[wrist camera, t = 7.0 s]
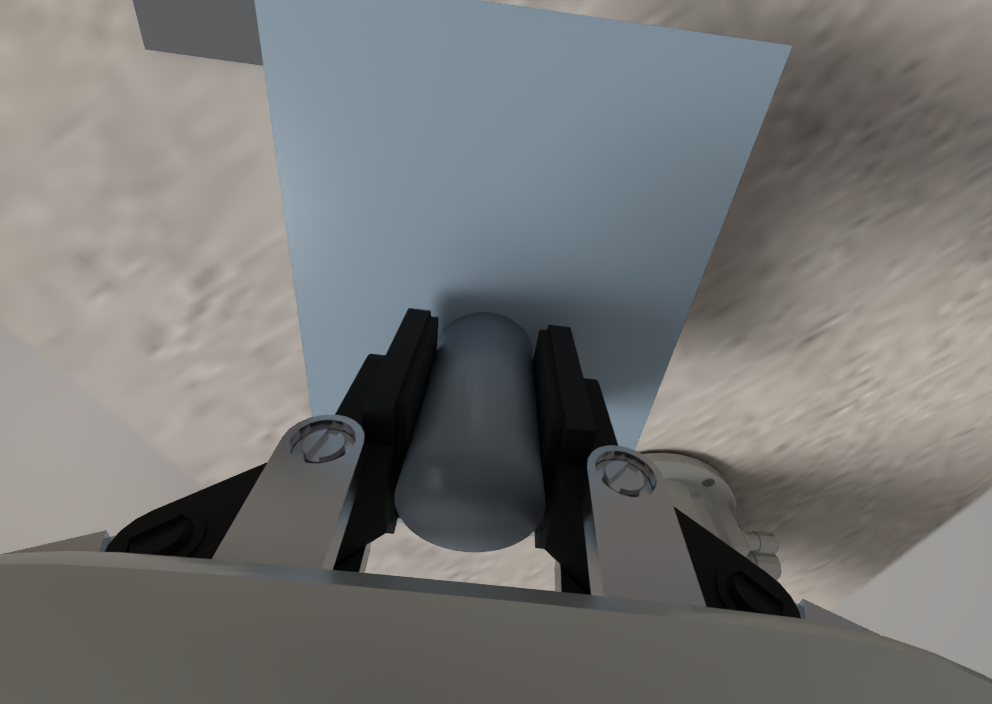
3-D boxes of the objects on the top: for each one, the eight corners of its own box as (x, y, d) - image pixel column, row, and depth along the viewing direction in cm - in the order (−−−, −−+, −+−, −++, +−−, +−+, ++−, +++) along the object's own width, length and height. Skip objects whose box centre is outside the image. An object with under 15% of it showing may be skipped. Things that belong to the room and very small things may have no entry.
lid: (764, 50, 9) (1126, -16, 4) (594, 519, 16) (631, 710, 11) (276, -20, 8) (-92, -204, 3) (335, 492, 16) (254, 677, 11)
